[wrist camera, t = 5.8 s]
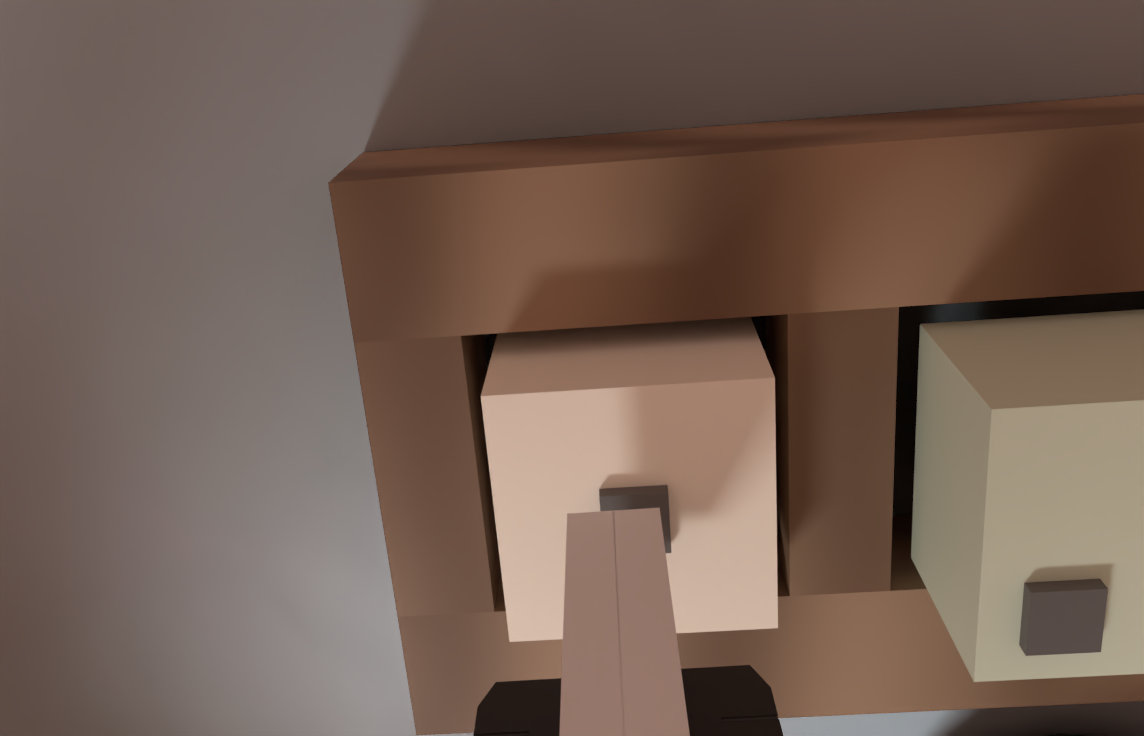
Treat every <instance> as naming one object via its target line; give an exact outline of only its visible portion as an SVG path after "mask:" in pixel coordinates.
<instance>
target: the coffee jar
mask: <svg viewBox="0 0 1144 736" xmlns="http://www.w3.org/2000/svg"><path fill="white" fill-rule="evenodd" d="M1050 736H1080V735H1069V734H1056V735H1050Z"/></svg>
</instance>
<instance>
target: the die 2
mask: <svg viewBox="0 0 1144 736" xmlns="http://www.w3.org/2000/svg"><path fill="white" fill-rule="evenodd" d="M911 559H912V561H913V563H914V564H915V566H916V568H917V570H918V572H919V574H920V576H921V578H922V580H923V582H924V584H925V586H926V588H927V590H928V592H929V594H930V596H931V598H932V600H933V602H934V604H935V606H936V608H937V610H938V612H939V614H940V616H941V618H942V620H943V622H944V624H945V626H946V628H947V630H948V632H949V634H950V636H951V638H952V640H953V642H954V644H955V646H956V648H957V650H958V652H959V654H960V656H961V657H962V659H963V661H964V663H965V665H966V667H967V669H968V671H969V673H970V675H971V677H972V679H973V681H974V682H984V681H1005V680H1025V679H1046V678H1067V677H1087V676H1108V675H1129V674H1144V309H1142V310H1127V311H1112V312H1096V313H1081V314H1066V315H1050V316H1035V317H1020V318H1004V319H989V320H973V321H958V322H943V323H927V324H920V335H919V361H918V387H917V413H916V439H915V465H914V491H913V517H912V543H911Z"/></svg>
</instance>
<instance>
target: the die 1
mask: <svg viewBox="0 0 1144 736" xmlns="http://www.w3.org/2000/svg"><path fill="white" fill-rule="evenodd" d="M481 404H482V412H483V421H484V429H485V438H486V446H487V455H488V463H489V472H490V480H491V489H492V497H493V506H494V514H495V523H496V531H497V540H498V548H499V557H500V565H501V574H502V582H503V591H504V600H505V608H506V617H507V625H508V634H509V642H519V641H538V640H558V639H563V620H564V591H565V563H566V534H567V513H583V512H598V511H614V510H630V509H646V508H660V515H661V522H662V530H663V537H664V545H665V552H666V560H667V567H668V575H669V582H670V590H671V598H672V605H673V613H674V620H675V628H676V633H694V632H714V631H733V630H753V629H772V628H778V586H777V504H776V423H775V377H774V374H773V372H772V369H771V367H770V364H769V362H768V359H767V357H766V354H765V352H764V349H763V347H762V344H761V342H760V339H759V337H758V334H757V332H756V329H755V327H754V324H753V322H752V319H751V317H738V318H723V319H707V320H692V321H677V322H662V323H647V324H632V325H616V326H601V327H586V328H571V329H556V330H541V331H525V332H510V333H497V337H496V341H495V344H494V348H493V352H492V356H491V359H490V363H489V367H488V371H487V374H486V378H485V382H484V386H483V389H482V393H481Z"/></svg>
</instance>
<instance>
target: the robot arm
mask: <svg viewBox="0 0 1144 736" xmlns="http://www.w3.org/2000/svg"><path fill="white" fill-rule="evenodd" d="M474 736H783V733H782V729H781V725H780V721H779V720H778V713H777V709H776V705H775V701H774V698H773V694H772V690H771V687H770V686H769V685H768V684H767V683H766V682H765V681H764V679H763V678H762V677H761V676H760V675H759V674H758V673H757V672H756V671H755V670H754V669H753V668H752V667H751V665H738V666H721V667H704V668H686V669H681V665H680V658H679V650H678V643H677V635H676V628H675V620H674V613H673V605H672V598H671V590H670V582H669V575H668V567H667V560H666V552H665V545H664V537H663V530H662V522H661V515H660V508H646V509H630V510H614V511H598V512H583V513H567V534H566V563H565V591H564V620H563V648H562V676H561V678H556V679H539V680H521V681H504V682H495V684H494V685H493V687H492V688H491V689H490V691H489V692H488V693H487V695H486V696H485V697H484V699H483V700H482V701H481V703H480V704H479V705H478V707H477V714H476V721H475V728H474Z"/></svg>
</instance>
